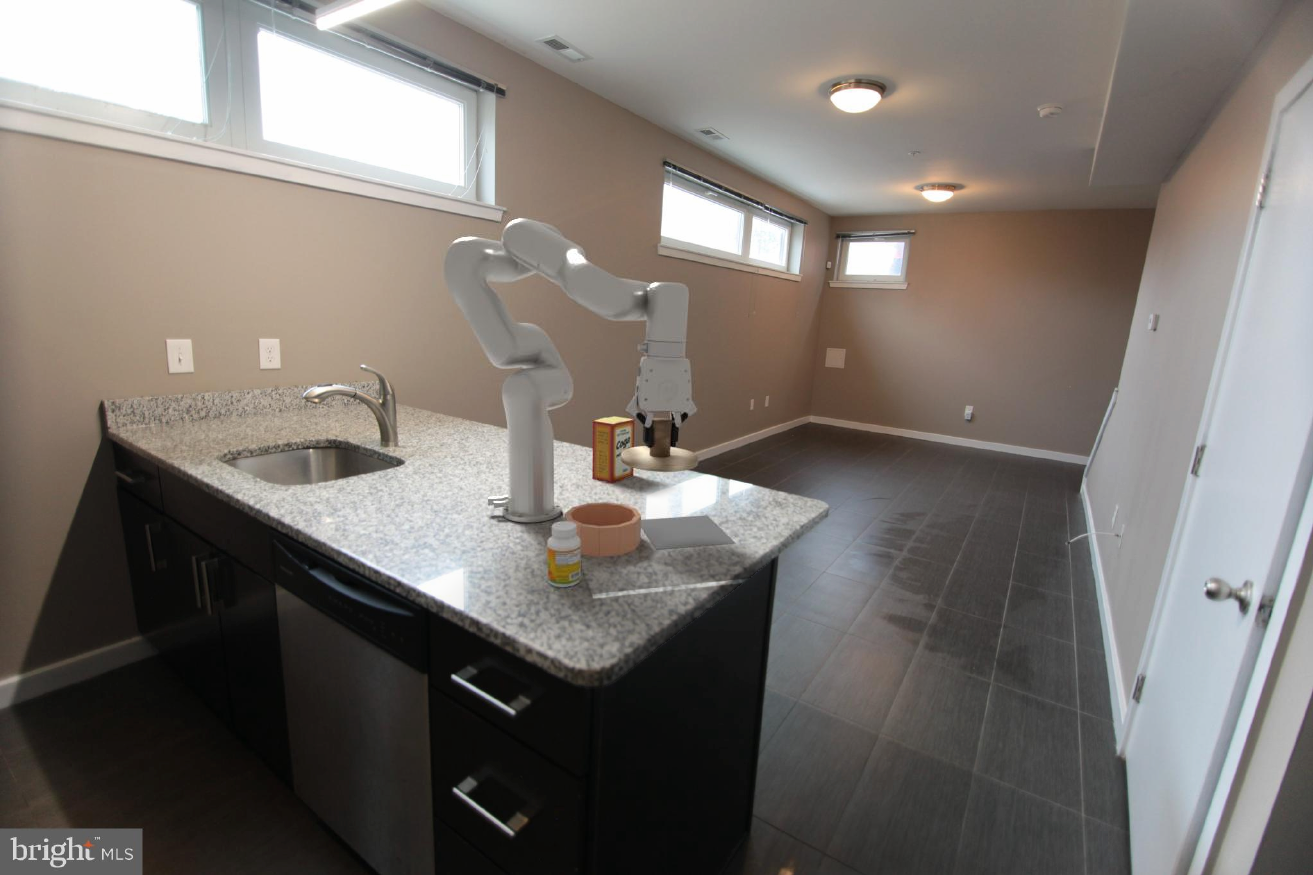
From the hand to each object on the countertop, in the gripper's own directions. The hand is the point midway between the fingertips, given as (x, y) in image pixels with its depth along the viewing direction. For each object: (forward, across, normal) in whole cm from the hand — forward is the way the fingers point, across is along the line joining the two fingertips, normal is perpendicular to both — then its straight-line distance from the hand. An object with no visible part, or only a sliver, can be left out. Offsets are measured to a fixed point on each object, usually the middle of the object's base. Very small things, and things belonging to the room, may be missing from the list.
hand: (660, 445), depth 113 cm
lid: (+3, 0, 0) cm, 3 cm away
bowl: (+19, -11, -2) cm, 22 cm away
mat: (+19, +6, 0) cm, 20 cm away
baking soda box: (+20, +1, +43) cm, 47 cm away
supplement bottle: (+19, -20, -15) cm, 32 cm away
